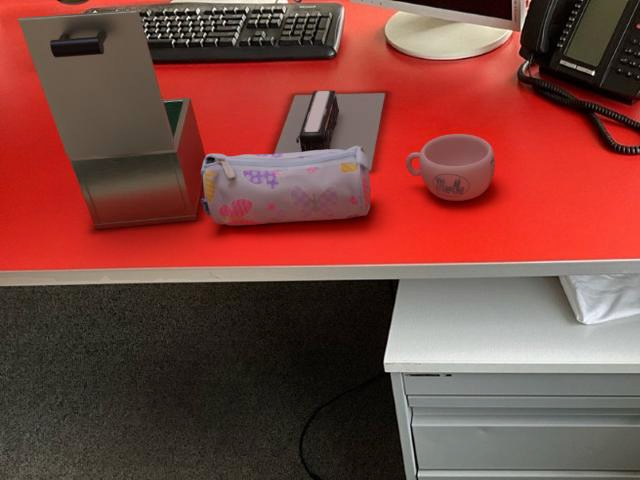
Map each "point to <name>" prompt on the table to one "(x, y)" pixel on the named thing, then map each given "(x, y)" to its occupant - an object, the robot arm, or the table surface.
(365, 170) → the pencil case
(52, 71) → the freezer lid
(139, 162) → the box
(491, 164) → the mug
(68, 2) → the beverage can
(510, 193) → the table surface
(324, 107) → the flat grey base plate
